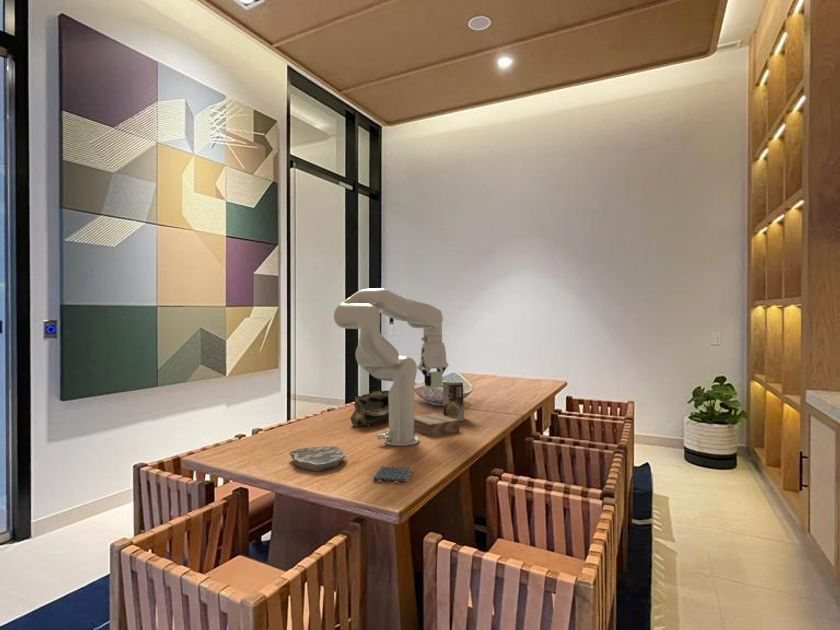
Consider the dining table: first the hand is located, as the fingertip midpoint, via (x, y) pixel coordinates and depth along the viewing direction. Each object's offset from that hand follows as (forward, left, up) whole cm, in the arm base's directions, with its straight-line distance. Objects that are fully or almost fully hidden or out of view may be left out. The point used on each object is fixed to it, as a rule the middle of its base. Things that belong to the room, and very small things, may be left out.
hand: (433, 384), depth 196 cm
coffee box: (+18, +10, -19) cm, 28 cm away
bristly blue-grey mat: (-42, -39, -19) cm, 61 cm away
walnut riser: (0, 0, -19) cm, 19 cm away
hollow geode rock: (-11, +26, -19) cm, 34 cm away
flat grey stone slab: (-54, -13, -19) cm, 59 cm away
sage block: (0, 0, -1) cm, 1 cm away
